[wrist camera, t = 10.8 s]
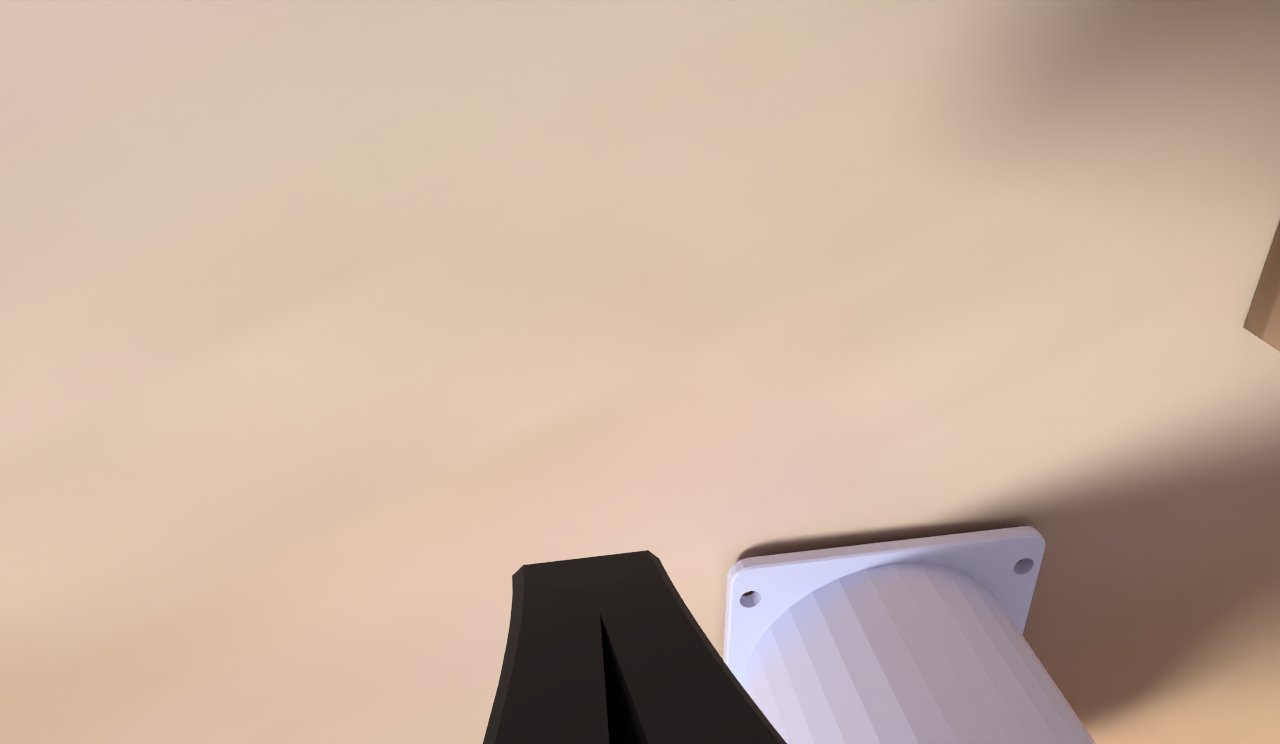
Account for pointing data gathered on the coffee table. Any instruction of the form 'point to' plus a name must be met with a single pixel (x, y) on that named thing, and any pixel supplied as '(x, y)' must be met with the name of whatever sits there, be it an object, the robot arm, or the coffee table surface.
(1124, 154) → the coffee table surface
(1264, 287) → the keepsake box
